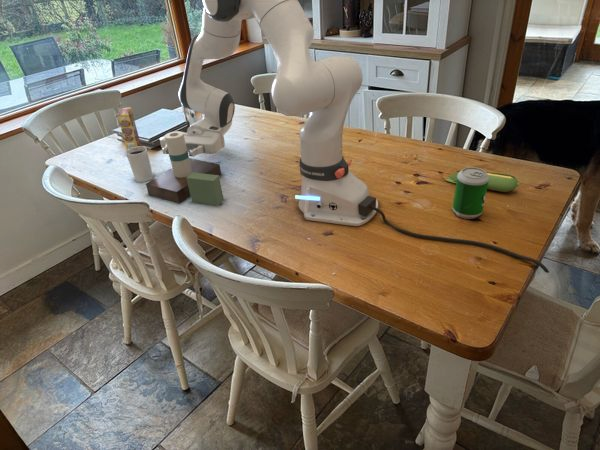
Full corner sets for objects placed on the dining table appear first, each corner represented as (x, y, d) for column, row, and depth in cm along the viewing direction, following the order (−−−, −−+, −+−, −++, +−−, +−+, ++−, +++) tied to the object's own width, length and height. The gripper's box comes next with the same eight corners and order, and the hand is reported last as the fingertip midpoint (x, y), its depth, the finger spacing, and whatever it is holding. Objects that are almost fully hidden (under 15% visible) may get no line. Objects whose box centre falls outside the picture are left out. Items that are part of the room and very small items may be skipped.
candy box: (140, 153, 163) (128, 114, 155) (128, 155, 163) (116, 115, 154) (141, 144, 170) (131, 106, 162) (130, 146, 170) (119, 108, 161)
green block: (197, 196, 132) (192, 172, 128) (223, 200, 129) (219, 175, 125) (191, 202, 129) (185, 177, 125) (218, 206, 127) (213, 180, 122)
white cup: (144, 172, 149) (136, 145, 144) (158, 175, 146) (151, 148, 141) (129, 180, 145) (120, 152, 139) (143, 184, 142) (135, 156, 136)
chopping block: (221, 175, 143) (219, 164, 141) (179, 203, 129) (176, 191, 127) (191, 168, 149) (189, 157, 147) (148, 195, 135) (145, 183, 133)
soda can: (478, 223, 110) (486, 181, 104) (448, 216, 114) (454, 175, 107) (484, 209, 116) (493, 168, 109) (456, 203, 119) (462, 163, 113)
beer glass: (203, 143, 167) (195, 105, 159) (186, 143, 169) (177, 105, 161) (209, 136, 173) (202, 99, 165) (193, 136, 174) (185, 99, 166)
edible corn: (515, 196, 120) (519, 182, 117) (442, 184, 128) (443, 170, 126) (517, 188, 124) (521, 174, 121) (446, 176, 132) (447, 163, 130)
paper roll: (177, 180, 139) (187, 142, 142) (192, 182, 138) (202, 143, 140) (152, 166, 127) (163, 125, 129) (169, 168, 125) (180, 126, 127)
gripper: (172, 124, 145) (146, 140, 134) (226, 128, 138) (204, 146, 128) (176, 142, 148) (151, 159, 138) (229, 147, 142) (207, 165, 131)
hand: (177, 153), depth 133 cm, fingers open, 8 cm apart
